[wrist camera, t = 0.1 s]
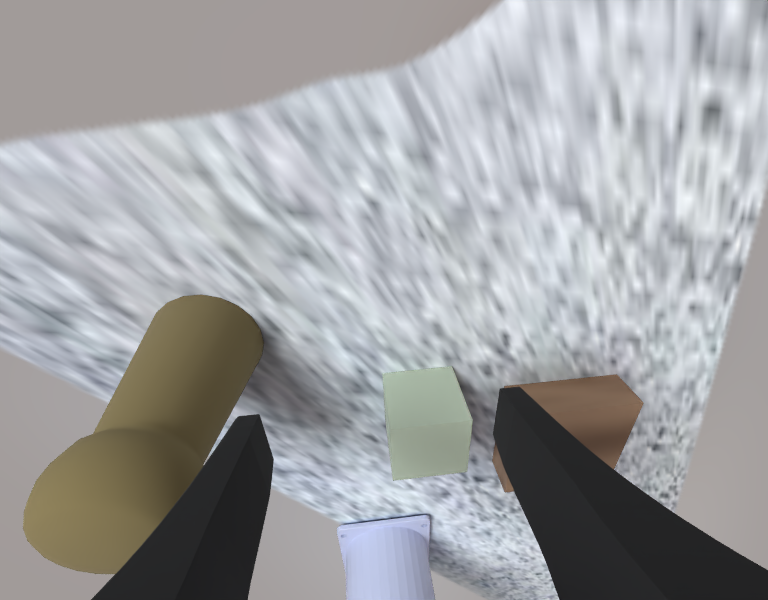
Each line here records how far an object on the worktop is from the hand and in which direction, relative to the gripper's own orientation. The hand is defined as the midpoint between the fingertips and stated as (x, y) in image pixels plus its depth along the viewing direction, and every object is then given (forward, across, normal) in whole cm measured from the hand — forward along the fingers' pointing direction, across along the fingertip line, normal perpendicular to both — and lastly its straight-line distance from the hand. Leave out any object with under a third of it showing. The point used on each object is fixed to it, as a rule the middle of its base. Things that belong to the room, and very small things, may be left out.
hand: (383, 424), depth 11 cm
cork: (+10, +9, +3) cm, 14 cm away
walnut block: (+10, -13, +13) cm, 21 cm away
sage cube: (+10, -3, +9) cm, 14 cm away
